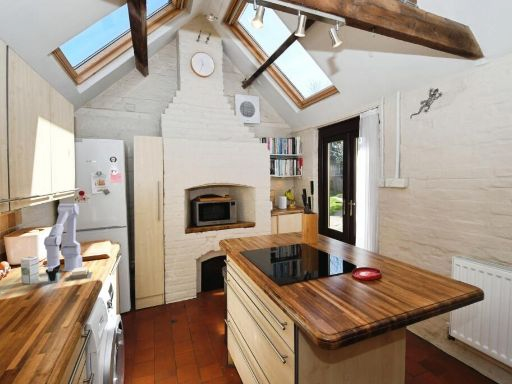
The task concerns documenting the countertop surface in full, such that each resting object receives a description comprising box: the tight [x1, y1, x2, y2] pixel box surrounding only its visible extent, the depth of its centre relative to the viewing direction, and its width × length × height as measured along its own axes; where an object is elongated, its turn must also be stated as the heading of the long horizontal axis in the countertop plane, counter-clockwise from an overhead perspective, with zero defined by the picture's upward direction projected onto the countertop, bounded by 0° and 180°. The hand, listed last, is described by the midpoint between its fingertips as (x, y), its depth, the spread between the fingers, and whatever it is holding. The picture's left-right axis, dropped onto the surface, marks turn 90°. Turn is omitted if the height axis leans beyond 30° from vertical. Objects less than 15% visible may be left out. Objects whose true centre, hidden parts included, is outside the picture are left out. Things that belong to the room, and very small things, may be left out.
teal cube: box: [47, 272, 60, 284], centre depth 151 cm, size 4×4×4 cm
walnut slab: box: [70, 269, 90, 280], centre depth 158 cm, size 8×8×2 cm
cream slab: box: [71, 266, 89, 276], centre depth 158 cm, size 7×7×2 cm
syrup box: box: [20, 256, 40, 285], centre depth 149 cm, size 6×6×14 cm
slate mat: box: [66, 271, 94, 283], centre depth 159 cm, size 12×12×1 cm
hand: (53, 279), depth 151 cm, fingers closed on teal cube, 4 cm apart
